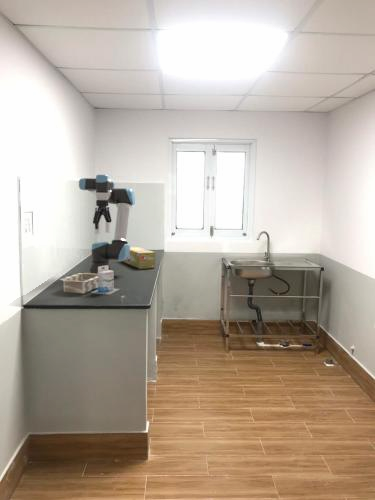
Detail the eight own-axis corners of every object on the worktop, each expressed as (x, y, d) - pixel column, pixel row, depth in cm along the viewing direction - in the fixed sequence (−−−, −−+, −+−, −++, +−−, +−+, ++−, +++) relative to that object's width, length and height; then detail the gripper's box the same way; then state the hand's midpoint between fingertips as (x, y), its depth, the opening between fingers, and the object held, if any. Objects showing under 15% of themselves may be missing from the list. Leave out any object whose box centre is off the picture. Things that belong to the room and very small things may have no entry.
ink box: (103, 292, 247) (102, 267, 245) (97, 291, 250) (97, 266, 248) (114, 290, 253) (113, 265, 251) (108, 288, 256) (108, 264, 254)
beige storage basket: (80, 283, 271) (80, 272, 270) (106, 285, 266) (106, 274, 265) (58, 292, 247) (57, 280, 247) (85, 294, 242) (85, 282, 241)
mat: (102, 288, 259) (102, 287, 259) (119, 289, 256) (119, 289, 256) (90, 293, 246) (90, 292, 246) (109, 294, 243) (109, 294, 243)
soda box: (155, 268, 331) (155, 252, 330) (139, 269, 325) (139, 253, 323) (137, 260, 367) (137, 246, 365) (122, 261, 361) (122, 246, 359)
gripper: (106, 199, 277) (106, 231, 280) (86, 199, 253) (87, 234, 256) (116, 199, 275) (116, 231, 278) (98, 200, 251) (98, 235, 254)
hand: (102, 233), depth 267 cm, fingers open, 13 cm apart
